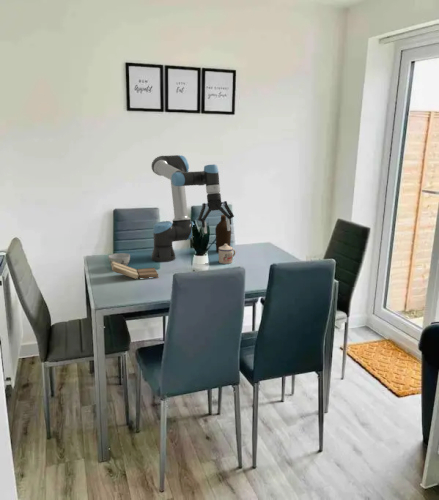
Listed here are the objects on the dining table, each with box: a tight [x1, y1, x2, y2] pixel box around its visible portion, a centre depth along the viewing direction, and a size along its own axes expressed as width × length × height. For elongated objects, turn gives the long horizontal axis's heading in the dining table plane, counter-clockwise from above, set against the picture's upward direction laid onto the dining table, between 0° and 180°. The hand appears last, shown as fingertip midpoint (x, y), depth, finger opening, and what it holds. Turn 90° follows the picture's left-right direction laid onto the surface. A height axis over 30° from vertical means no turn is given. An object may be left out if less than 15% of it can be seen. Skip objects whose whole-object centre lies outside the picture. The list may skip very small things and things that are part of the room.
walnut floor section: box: [136, 267, 159, 279], centre depth 249 cm, size 12×10×2 cm
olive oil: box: [214, 214, 232, 254], centre depth 297 cm, size 11×11×25 cm
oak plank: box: [110, 261, 139, 280], centre depth 245 cm, size 12×14×2 cm
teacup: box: [107, 252, 131, 266], centre depth 262 cm, size 15×12×8 cm
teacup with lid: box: [218, 244, 236, 265], centre depth 275 cm, size 12×9×12 cm
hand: (217, 232), depth 243 cm, fingers open, 13 cm apart
